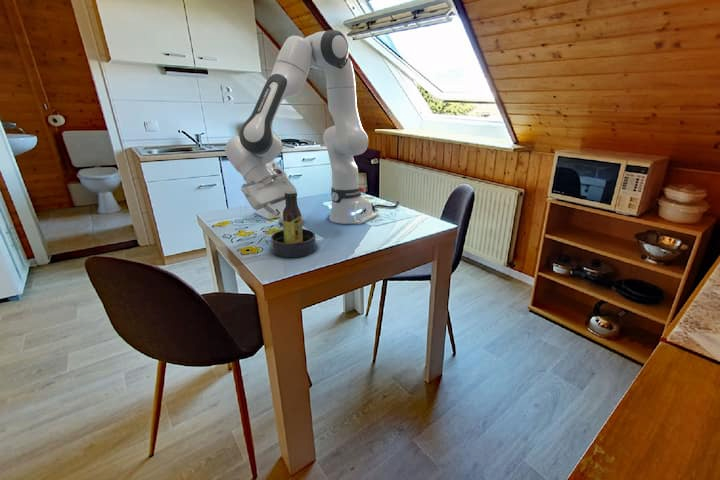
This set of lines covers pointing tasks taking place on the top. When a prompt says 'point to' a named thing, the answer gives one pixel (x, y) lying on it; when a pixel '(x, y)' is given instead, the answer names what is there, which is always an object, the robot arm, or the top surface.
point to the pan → (295, 248)
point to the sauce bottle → (292, 219)
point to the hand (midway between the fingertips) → (286, 211)
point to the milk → (279, 205)
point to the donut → (282, 219)
